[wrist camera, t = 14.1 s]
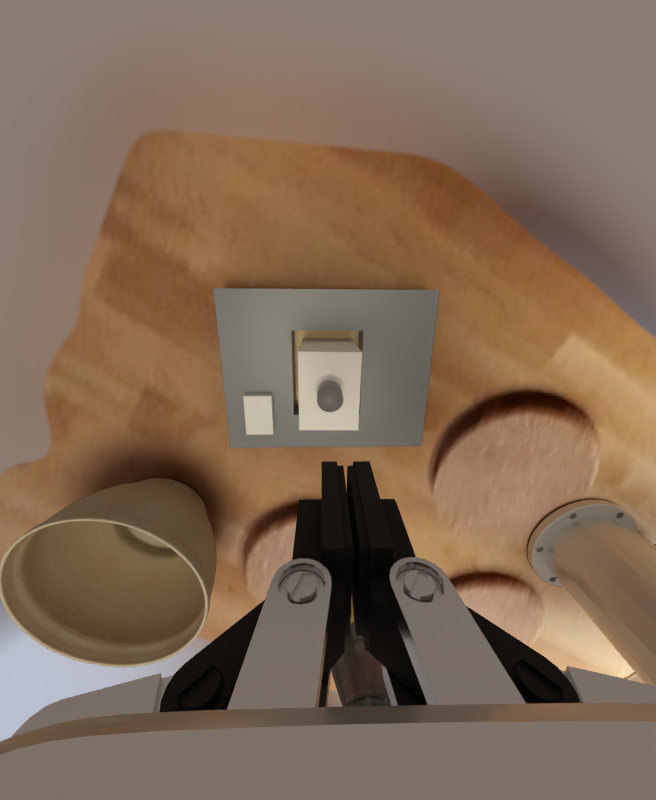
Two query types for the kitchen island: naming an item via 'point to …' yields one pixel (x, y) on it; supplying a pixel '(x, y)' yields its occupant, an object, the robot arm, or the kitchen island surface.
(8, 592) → the planter bowl
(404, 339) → the socket
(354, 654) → the sauce bottle
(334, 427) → the plug
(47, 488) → the kitchen island surface
